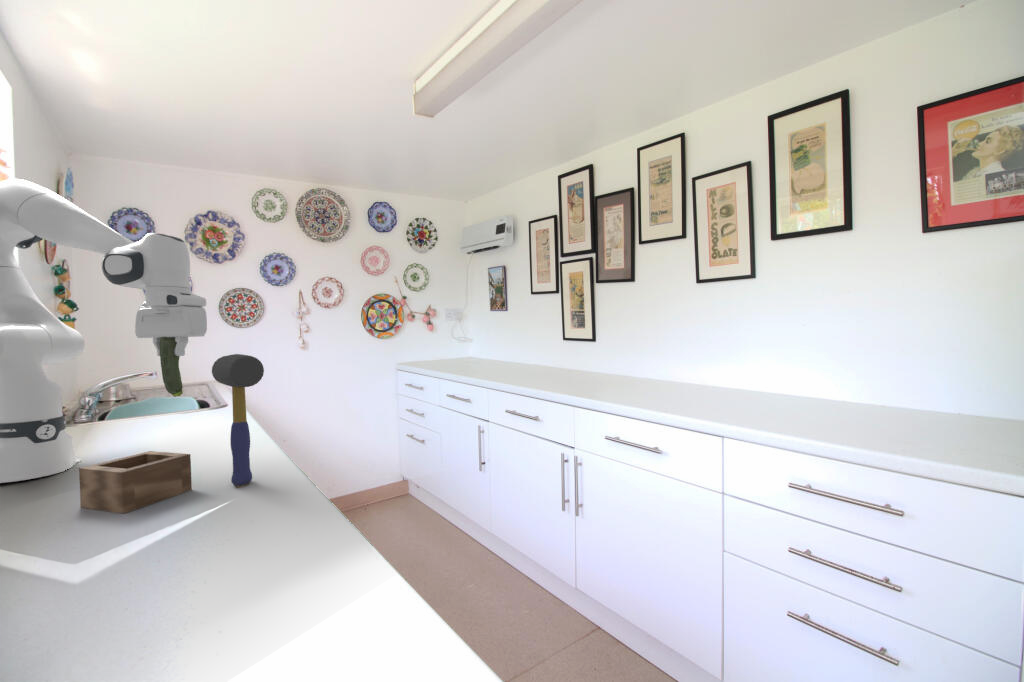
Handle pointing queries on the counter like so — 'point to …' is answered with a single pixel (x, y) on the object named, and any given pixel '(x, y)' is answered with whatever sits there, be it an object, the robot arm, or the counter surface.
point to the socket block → (134, 481)
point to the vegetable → (170, 366)
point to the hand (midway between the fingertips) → (171, 356)
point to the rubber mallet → (239, 407)
